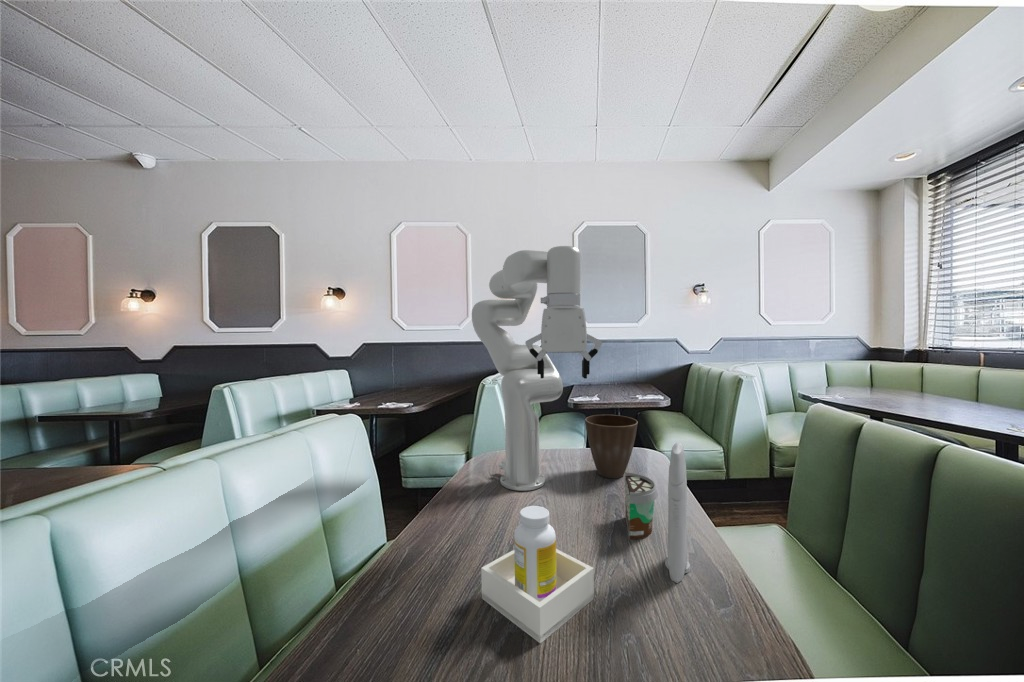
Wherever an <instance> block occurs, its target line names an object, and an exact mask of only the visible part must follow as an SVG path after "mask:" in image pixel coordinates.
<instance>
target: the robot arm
mask: <svg viewBox="0 0 1024 682" xmlns="http://www.w3.org/2000/svg"><path fill="white" fill-rule="evenodd" d="M581 258H582V257H581V251H580V249H579V248H578V247H575V246H572V245H559V246H558V245H557V246H553V247H551V248H549V249H548V251H541V250H529V249H528V250H527V249H525V250H524V249H523V250H518V251H516V252H514V253H511V254H510V255H508V256H507V257H506V259H505V261H504V263H503V265H502V269H501V270H499V271H497V272H495V273H494V274H493V275H492V276H491V277H490V280H489V284H488V287H489V291H490V292H491V294H493V296H495V297H496V298H499V299H485V300H480V301H478V302H476V303H474V305H473V306H472V309H471V323H472V326H473V329H474V332H475V334H476V335H477V337H478V338H479V340H480V341H481V343H482V344H483V345H484V346H485V348H486V350H487V351H488V353H489V357H490V358H491V360H492V362H493V365H494V366H495V368H496V371H498V373H499V374H500V375H501V376H503V377H502V379H501V381H500V383H501V384H500V390H501V396H502V401H503V406H504V407H503V408H504V428H505V429H504V433H505V434H504V436H505V437H504V438H505V439H504V440H505V459H503V460H501V462H500V463H499V464H498V469H500V470H503V474H502V475H501V476H500V485H501V486H502V487H504V488H506V489H509V490H512V491H520V492H522V491H523V492H527V491H534V490H537V489H540V488H542V487H543V486H544V485H545V484H546V477H545V475H543V474H542V473H541V472H540V470H541V468H540V467H541V466H540V465H541V464H540V460H541V459H540V418H539V416H538V414H537V413H536V411H535V410H534V409H533V407H532V404H536V403H537V404H538V403H547V402H553V401H556V400H558V399H559V398H560V397H561V396H562V394H563V389H564V386H563V385H564V384H563V379H562V377H561V375H560V372H559V371H558V369H557V368H556V366H555V365H554V363H553V361H552V360H551V358H550V357H549V355H548V353H552V354H555V353H557V354H563V353H565V354H566V353H567V354H571V353H573V354H574V353H575V354H576V353H579V354H580V355H581V356H582V357H583V358H582V360H581V377H582V378H583V379H587V378H588V375H590V373H591V372H590V366H591V364H590V362H591V360H592V359H593V358H594V357H595V356H596V355H597V354H598V352H599V350H600V349H601V347H602V344H603V341H602V340H600V339H598V338H597V337H594V336H592V335H590V334H588V333H587V319H586V313H585V308H581V261H582V259H581ZM540 283H541V284H546V296H543V297H540V304H543V305H545V306H546V308H543V311H542V317H541V327H540V328H541V331H540V333H539V334H537V335H535V336H533V337H531V338H529V339H527V340H525V342H524V343H525V344H518V343H516V342H515V341H514V339H513V337H512V336H511V334H510V333H508V331H506V330H505V329H503V328H502V327H516V326H520V325H522V324H524V322H525V321H526V318H527V317H528V314H529V312H530V309H531V307H532V305H533V302H534V300H535V298H536V294H537V291H538V284H540ZM539 341H540V346H539V345H537V344H535V343H536V342H539ZM588 342H591V343H592V344H593V346H592V349H590V350H589V352H588V351H587V349H588Z"/></svg>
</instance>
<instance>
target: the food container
mask: <svg viewBox="0 0 1024 682" xmlns="http://www.w3.org/2000/svg"><path fill="white" fill-rule="evenodd" d="M624 482H625V483H624V486H625V487H624V491H625V492H624V493H625V497H624V498H625V499H624V500H625V507H624V508H625V522H626V527H627V532H628V533H627V534H628V539H629V540H641V539H644V538H648V537H649V536H650V535H651V534H652V532H653V521H654V507H655V505H654V504H655V500H656V499H658V496H659V495H658V489H657V486H656V484H655V482H654V481H653V479H651V478H650V477H648V476H645V475H643V474H638V473H635V472H628V471H627V472H626V471H625V473H624Z"/></svg>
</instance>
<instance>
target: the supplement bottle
mask: <svg viewBox="0 0 1024 682" xmlns="http://www.w3.org/2000/svg"><path fill="white" fill-rule="evenodd" d="M519 520H520V524H518V526H516V528H515V530H514V532H513V533H514V534H513V535H514V536H513V543H514V544H513V546H514V547H513V548H514V549H513V550H514V556H515V586H516V587H518V588H519V589H521V590H522V591H524V592H525V593H527V594H528V595H530V596H531V597H533V598H534V599H536V600H537V601H539V602H540V601H542V600H543V599H544V598H546V597H547V596H549V595H550V594H551V593H553V592H554V591H555V590H556V589H557V577H556V549H557V537H556V531H555V529H554V527H553V526H552V525H551V524H549V523H550V511H549V510H548V509H547V508H546V507H543V506H539V505H529V506H524V508H522V509H520V510H519Z"/></svg>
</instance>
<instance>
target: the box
mask: <svg viewBox="0 0 1024 682" xmlns="http://www.w3.org/2000/svg"><path fill="white" fill-rule="evenodd" d="M480 569H481V571H480V572H481V574H480V575H481V599H482V600H484V602H485V603H487V604H488V605H489V606H491V607H492V608H493V609H495V610H496V611H498V613H500V614H501V615H502V616H504V617H505V618H506V619H508V620H509V621H510V622H512V623H513V624H514V625H516V626H517V627H518V628H519V629H520V630H521V631H523V632H525V633H526V634H527V635H528V636H530V637H531V638H533V639H534V640H535V641H536V642H537V643H539V644H542V643H543V642H544V641H545V640H547V639H548V638H549V637H551V635H553V634H554V633H555V632H557V631H558V630H559V629H560V628H561V627H563V625H564V624H566V623H567V622H568V621H569V620H570V619H572V618H573V617H574V616H575V615H576V614H578V613H579V612H580V611H582V610H583V608H585V607H586V606H587V605H588V604H589V603H591V602H592V601H593V600H594V599H595V598H594V597H595V596H594V595H595V593H594V592H595V591H594V589H595V588H594V586H595V582H594V577H595V576H594V572H595V570H594V567H593V566H591V565H588V564H587V563H584V562H583V561H581V560H578V559H577V558H575V557H573V556H571V555H569V554H568V553H565V552H564V551H562V550H560V549H558V548H556V577H557V589H556V590H555V591H554V592H553V593H551V594H550V595H549V596H547V597H546V598H544V599H543V600H542V601H540V602H539V601H537V600H536V599H534V598H533V597H531V596H530V595H528V594H527V593H525V592H524V591H522V590H521V589H519V588H518V587H516V586H515V556H514V549H513V550H511V551H509V552H507V553H505V554H503V555H502V556H500V557H498V558H497V559H495V560H493V561H491V562H489V563H488V564H485V565H484V566H482V567H481V568H480Z"/></svg>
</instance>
